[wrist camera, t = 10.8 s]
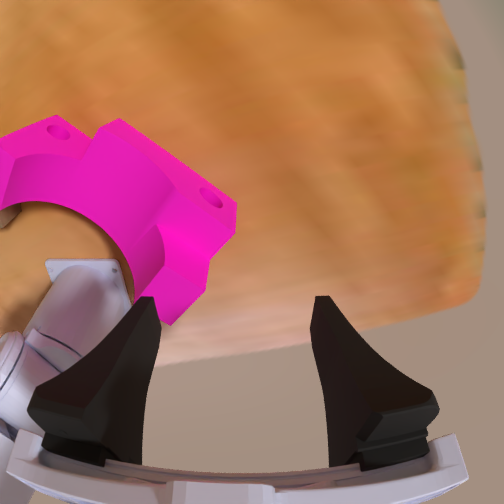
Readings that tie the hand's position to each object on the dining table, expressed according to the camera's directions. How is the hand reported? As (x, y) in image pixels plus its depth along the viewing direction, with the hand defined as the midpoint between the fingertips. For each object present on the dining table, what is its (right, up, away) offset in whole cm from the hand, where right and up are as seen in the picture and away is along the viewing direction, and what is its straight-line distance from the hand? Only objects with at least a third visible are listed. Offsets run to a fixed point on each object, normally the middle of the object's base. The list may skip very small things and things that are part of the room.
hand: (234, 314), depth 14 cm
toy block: (-8, +8, +7) cm, 14 cm away
